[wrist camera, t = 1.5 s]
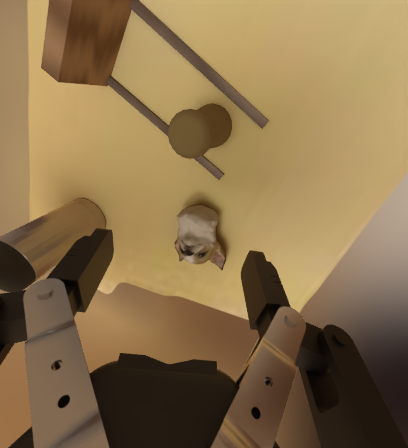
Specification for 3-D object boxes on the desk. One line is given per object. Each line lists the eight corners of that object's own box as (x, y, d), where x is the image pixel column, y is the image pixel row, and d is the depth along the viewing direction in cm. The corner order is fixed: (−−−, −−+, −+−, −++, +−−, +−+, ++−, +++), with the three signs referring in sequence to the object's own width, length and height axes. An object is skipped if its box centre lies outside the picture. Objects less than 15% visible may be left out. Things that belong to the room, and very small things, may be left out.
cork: (200, 96, 30) (166, 95, 21) (238, 113, 30) (220, 119, 20) (188, 138, 33) (154, 152, 24) (222, 153, 33) (201, 173, 24)
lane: (218, 180, 35) (202, 202, 28) (94, 74, 33) (41, 67, 26) (270, 118, 29) (267, 124, 21) (120, -22, 26) (57, -69, 19)
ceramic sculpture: (219, 225, 29) (218, 293, 38) (232, 198, 36) (228, 260, 44) (152, 214, 32) (165, 280, 41) (175, 191, 39) (182, 251, 47)
